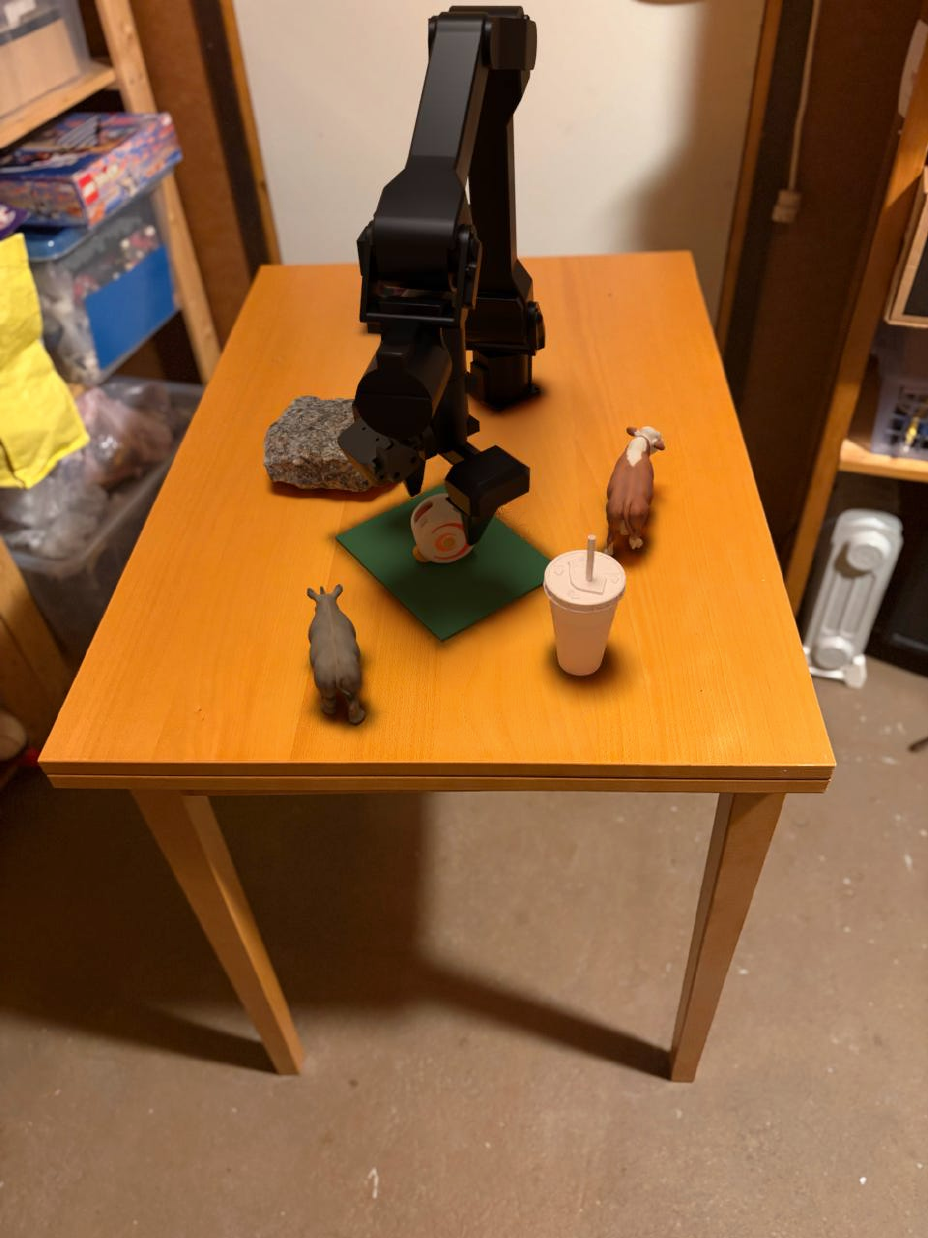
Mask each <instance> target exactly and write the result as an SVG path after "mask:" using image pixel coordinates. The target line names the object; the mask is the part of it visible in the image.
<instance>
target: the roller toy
mask: <svg viewBox="0 0 928 1238" xmlns="http://www.w3.org/2000/svg"><path fill="white" fill-rule="evenodd" d="M447 497H449V496H448V494H437V495H433V496H431V497H429V498H427V499H425V500H424V501H422V502H421V503H420V504H419V505H418V506H417V507H416V509H415V510H414V512H413V514H412V517H411V528H412V532H413V535H414V538H415V541H416V544H417V545H416V546H415V547H414V549H413V555H414V557H415V558H416V559H417V560H418V561H421V562H428V561H433V562H437V563H449V562H453V561H456V560H459V559H461V558H462V557H464V556H465V555H467V554H468V553H469V552H470V551H471V550H472V548H473V547H474V545H475V544H474V545H472V546H469V545H468V544H467V542H466V539H465V535H464V530H463V525H462V519H461V514H460V511H458V510H457V509H456V508H455V507H454V506H452V505H451V504H450V503H449V502H447V501H446V500H445V498H447Z"/></svg>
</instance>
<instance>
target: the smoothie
mask: <svg viewBox="0 0 928 1238" xmlns="http://www.w3.org/2000/svg"><path fill="white" fill-rule="evenodd" d="M596 537H597V536H596V535H594V534H589V535H588V536H587V549H577V550H570V551H567V552H564V553H562V554H559V555H557V556H556V557H554V558H553V559H552V560H550V561H551V562H550V563H549V565H548V566H547V568H546V570H545V577H544V583H543V585H542V586H543V591H544V593H545V594H546V596H547V598H548V600H549V606H550V613H551V620H552V628H553V635H554V642H555V648H556V655H557V662H558V665H559V667H560V668H561V669H562V670H563V671H564V672H566V673H567V674H570V675H572V676H580V677H581V676H583V677H584V676H589V675H592V674H594V673H595V672H597V671H598V669H599V668H600V667H601V665H602V661H603V658H604V655H605V651H606V647H607V645H608V640H609V636H610V634H611V629H612V625H613V622H614V619H615V616H616V611H617V609H618V605H619V602H620V601H621V600H622V599H623V597H624V595H625V593H626V588H627V586H626V585H627V583H626V581H627V575H626V572H625V570H624V568H623V566H622V565H621V564H620V563H619V561H617V560H616V559H615V558H613V557H612V556H608V555H606V554H604V552H601V551H596V539H597V538H596Z"/></svg>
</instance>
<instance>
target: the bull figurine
mask: <svg viewBox="0 0 928 1238" xmlns="http://www.w3.org/2000/svg"><path fill="white" fill-rule="evenodd" d="M625 430H626V434H628V435H629V436H630V437H633V439H632V440H631V441H630V442H629V443H628V444H627V445H626V447H625V449H624V451H623V452H622V453H621V454H620V456H619V457H618V458H617V460H616V462H615V465H614V468H613V470H612V472H611V475H610V478H609V482H608V484H607V487H606V498H607V502H606V504H605V513H606V522H607V526H608V527H607V531H608V532H607V536H606V547H605V549H604V550H603V554H606V555H608V556H610V557H612V556H613V555H614V548H613V547H614V543H615V541H616V538H617V534H618V531H619V532H620V534H621V535H623V536H628V535H629V538H628V542H629V546H630V547H631V549H632V550H635V549H636V548H637V549H640V547H642V546H643V545H644V544H643V543H644V542H643V540H642V539H641V538H640V537H641V535H642V529H641V528H642V526H644V524H645V522H646V520H647V517H648V515H649V512H650V506H651V505H652V503H653V499H654V479H655V471H654V466H653V463H652V461H651V459H650V457H651V456H652V455H654V454H656V453H657V452H658V451H662V452H663V451H665V448H666V445H665V440H664V439H663V438H662V437H663V436H662V433H661V432H659V431H658V430H657V429H655V428H653V427H652V426H650V425H646V426H643V427H642V428H641V429H640V430H639V429H637V427H633V426H628V427H626V429H625Z"/></svg>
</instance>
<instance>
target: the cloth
mask: <svg viewBox="0 0 928 1238" xmlns="http://www.w3.org/2000/svg"><path fill="white" fill-rule="evenodd" d="M437 494H447V492H446V490H445V482H444V483H442V484H439V485H437V486H435V487H433V488H432V489H431V488H430V489H429V490H428V491H425V492H422V493H420V494H418V495H416V496H414V497H412V498H411V499H409V500H407V501H405V502H403V503H400V504H399V505H397V506H394V507H392V508H390V509H388V510H386V511H384V512H382V513H380V514H378V515H375V516H374V517H372V518H370V519H367V520H365V521H364V522H361V523H359V524H357V525H355V526H353V527H351V528H348V529H347V530H345V531H343V532H341V533H339V534H337V535H335V536H334V539H335V540H336V541H337V542H339V544H340V545H341V546H342V547H343V548H344V549H346V551H347V552H348V553H350V555H351V556H352V557H353V558H355V560H356V561H358V562H359V563H360V564H361V566H363V567H364V568H365V570H367V571H368V572H369V573H370V574H371V575H372V576H373V578H375V579H376V580H377V581H378V582H379V583H380V584H381V585H382V586H383V587H384V588H385V589H386V590H387V591H388V592H389V593H390V594H391V595H393V597H394V598H395V599H397V600H398V601H399V602H400V604H401V605H403V607H405V608H406V609H407V611H408V612H409V613H411V614H412V615H413V616H414V617H415V618H416V619H417V620H418V621H419V622H420V623H421V624H422V625H423V626H424V627H425V628H426V629H427V630H428V631H429V632H430V633H431V634H433V636H435V638H436V639H438V641H440V642H441V643H443V642H445V641H446V640H448V639H450V638H452V637H454V636H456V635H457V634H458V633H461V632H462V631H465V630H466V629H468V628H469V627H471V626H473V625H474V624H476V623H478V622H480V621H482V620H483V619H485V618H487V617H488V616H491V615H492V614H494V613H495V612H497V611H500V610H501V609H503V608H504V607H506V606H508V605H510V604H512V603H513V602H515V601H516V600H518V599H520V598H522V597H524V596H525V595H528V594H529V593H531V592H533V591H534V590H536V589H538V588H540V587H542V586H544V585H543V583H544V577H545V570H546V568H547V566H548V565H549V563H550V562H551V561H552V560H551V559H549V558H548V557H546V556H545V555H544V554H543V553H542V552H540V551H539V550H538V549H537V548H535V547H534V546H533V545H532V544H530V543H529V542H528V541H527V540H525V539H524V538H523V537H522V536H520V535H519V534H518V533H517V532H515V531H514V530H512V528H510V527H509V526H508V525H506V524H505V523H504V522H503V521H501V520H500V519H499V518H498V517H497V516H495V515H494V516H493V518H492V520H491V521H490V523H489V525H488V527H487V528H486V530H485V532H484V534H483V535H482V537H481V539H480V541H479V542H478V543H476V544H475V545H474V547H473V548H472V550H471V551H470V552H469V553H468V554H467V555H465V556H464V557H462V558H461V559H459V560H456V561H453V562H449V563H437V562H433V561H428V562H421V561H418V560H417V559H416V558H415V557H414V555H413V549H414V547H415V546H416V545H417V544H416V541H415V538H414V535H413V532H412V528H411V517H412V514H413V512H414V510H415V509H416V507H417V506H418V505H419V504H420V503H421V502H422V501H424V500H425V499H427V498H429V497H431V496H433V495H437Z"/></svg>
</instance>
